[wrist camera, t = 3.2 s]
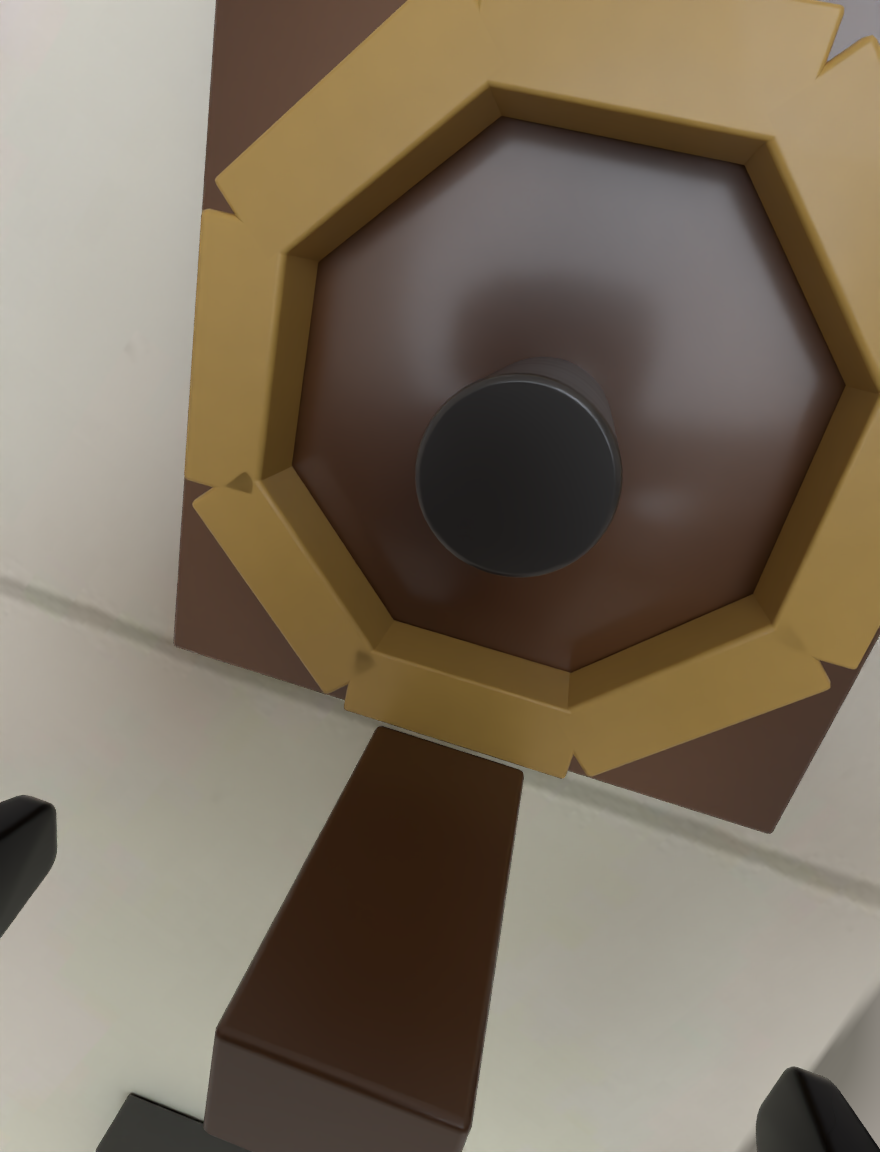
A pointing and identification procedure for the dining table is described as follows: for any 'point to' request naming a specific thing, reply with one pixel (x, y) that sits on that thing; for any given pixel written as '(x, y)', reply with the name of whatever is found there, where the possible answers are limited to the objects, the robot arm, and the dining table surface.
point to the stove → (158, 1131)
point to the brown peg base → (541, 401)
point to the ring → (458, 668)
